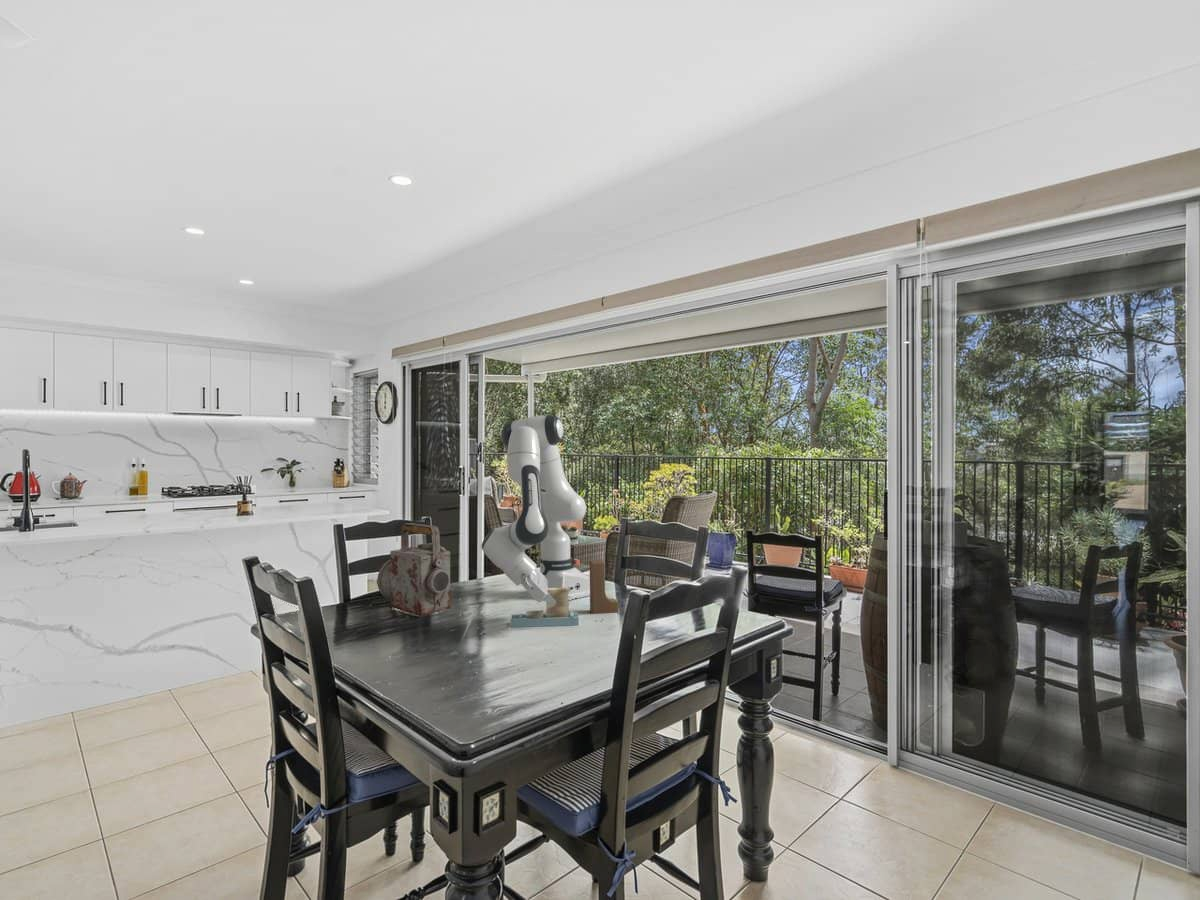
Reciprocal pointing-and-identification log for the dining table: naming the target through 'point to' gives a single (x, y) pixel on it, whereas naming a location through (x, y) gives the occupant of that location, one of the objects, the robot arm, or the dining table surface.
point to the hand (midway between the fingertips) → (554, 601)
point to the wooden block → (600, 590)
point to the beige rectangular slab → (558, 603)
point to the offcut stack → (534, 614)
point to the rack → (544, 622)
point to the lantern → (417, 574)
